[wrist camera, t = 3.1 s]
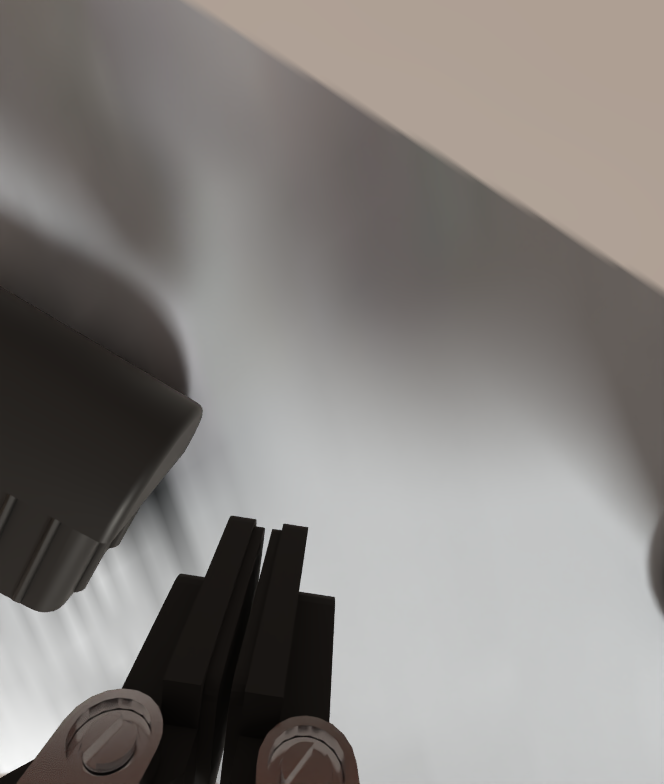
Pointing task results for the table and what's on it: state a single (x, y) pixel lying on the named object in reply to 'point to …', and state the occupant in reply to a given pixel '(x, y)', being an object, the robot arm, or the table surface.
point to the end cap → (74, 452)
